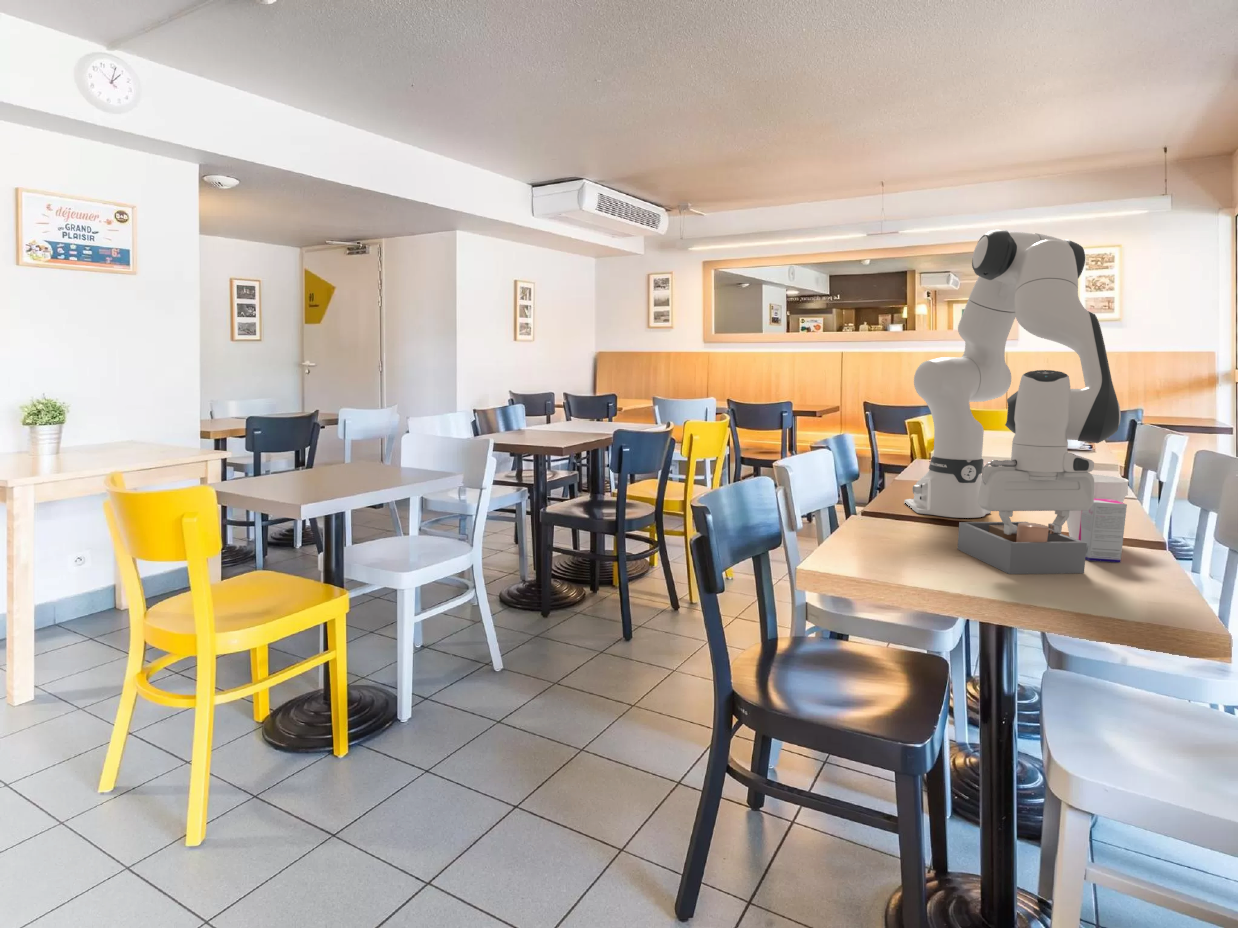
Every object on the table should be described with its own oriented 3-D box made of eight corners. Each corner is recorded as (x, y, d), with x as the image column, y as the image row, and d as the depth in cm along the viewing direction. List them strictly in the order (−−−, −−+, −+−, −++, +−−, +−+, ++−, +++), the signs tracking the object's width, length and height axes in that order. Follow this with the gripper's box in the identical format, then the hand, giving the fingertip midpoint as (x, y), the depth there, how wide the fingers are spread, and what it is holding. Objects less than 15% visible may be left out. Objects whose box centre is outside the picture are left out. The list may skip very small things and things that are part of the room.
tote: (957, 549, 150) (959, 522, 149) (1023, 548, 151) (1026, 521, 150) (1008, 573, 132) (1011, 543, 132) (1084, 573, 133) (1086, 542, 132)
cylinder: (1025, 566, 135) (1029, 529, 134) (1008, 558, 140) (1012, 522, 139) (1050, 566, 136) (1055, 529, 134) (1032, 558, 141) (1036, 522, 139)
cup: (1134, 549, 151) (1141, 483, 149) (1068, 546, 153) (1074, 481, 151) (1106, 535, 163) (1112, 474, 161) (1046, 533, 165) (1051, 472, 163)
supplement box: (1122, 563, 140) (1128, 503, 139) (1087, 561, 141) (1093, 502, 140) (1108, 555, 146) (1114, 498, 144) (1075, 553, 147) (1080, 497, 146)
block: (1001, 556, 142) (1003, 530, 142) (987, 549, 147) (989, 525, 147) (1026, 555, 143) (1028, 530, 142) (1011, 549, 148) (1013, 524, 147)
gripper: (992, 462, 131) (987, 538, 133) (1103, 462, 133) (1096, 537, 134) (973, 457, 138) (968, 530, 139) (1079, 457, 139) (1073, 529, 141)
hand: (1032, 534), depth 137 cm, fingers open, 7 cm apart
